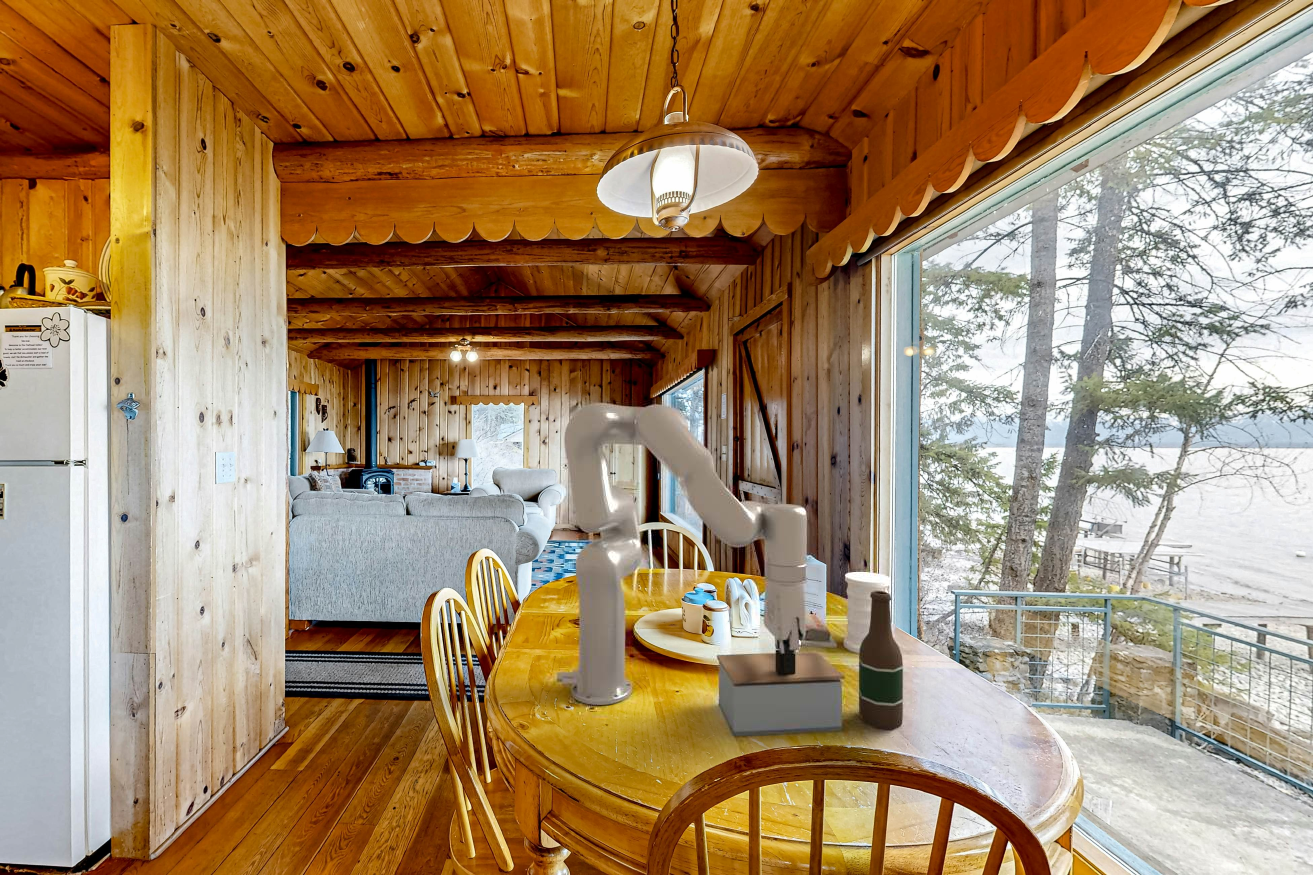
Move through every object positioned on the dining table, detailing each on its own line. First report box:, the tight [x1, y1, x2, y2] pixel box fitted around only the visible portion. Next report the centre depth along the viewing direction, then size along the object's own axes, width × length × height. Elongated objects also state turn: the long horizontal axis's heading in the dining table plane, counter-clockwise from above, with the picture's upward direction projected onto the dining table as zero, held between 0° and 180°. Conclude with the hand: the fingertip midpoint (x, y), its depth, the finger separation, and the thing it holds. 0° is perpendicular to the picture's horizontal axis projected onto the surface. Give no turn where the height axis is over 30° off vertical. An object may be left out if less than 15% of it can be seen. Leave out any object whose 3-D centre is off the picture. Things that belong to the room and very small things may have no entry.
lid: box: [716, 651, 846, 684], centre depth 105 cm, size 21×13×1 cm, turn 97°
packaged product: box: [800, 612, 838, 649], centre depth 151 cm, size 18×5×10 cm
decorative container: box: [843, 571, 891, 654], centre depth 142 cm, size 12×12×18 cm
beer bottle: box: [858, 591, 904, 731], centre depth 104 cm, size 8×8×24 cm
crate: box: [718, 661, 843, 738], centre depth 105 cm, size 20×12×9 cm, turn 96°
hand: (785, 672), depth 101 cm, fingers closed
